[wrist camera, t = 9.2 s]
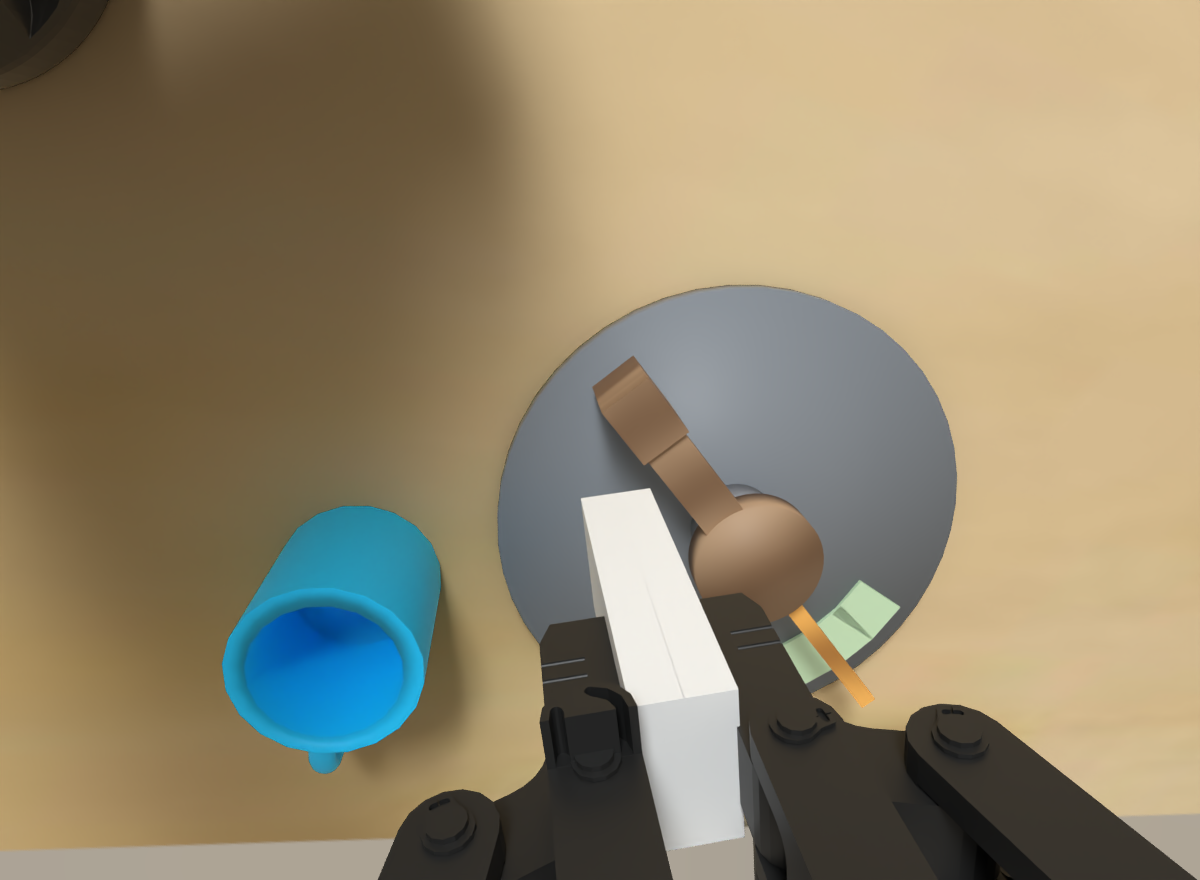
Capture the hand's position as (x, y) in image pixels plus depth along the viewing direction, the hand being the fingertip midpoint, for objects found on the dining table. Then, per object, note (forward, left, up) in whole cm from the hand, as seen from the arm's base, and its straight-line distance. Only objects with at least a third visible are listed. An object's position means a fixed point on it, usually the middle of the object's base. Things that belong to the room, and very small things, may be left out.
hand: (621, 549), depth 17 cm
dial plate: (+11, +7, -21) cm, 25 cm away
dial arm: (+11, +7, -20) cm, 24 cm away
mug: (+12, -13, -22) cm, 28 cm away
